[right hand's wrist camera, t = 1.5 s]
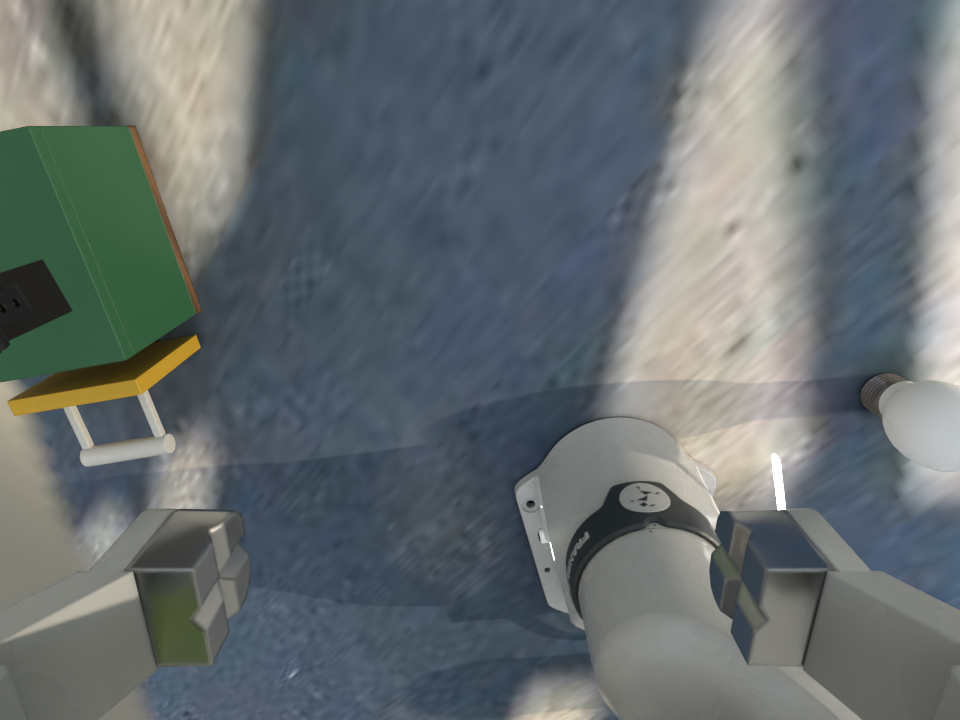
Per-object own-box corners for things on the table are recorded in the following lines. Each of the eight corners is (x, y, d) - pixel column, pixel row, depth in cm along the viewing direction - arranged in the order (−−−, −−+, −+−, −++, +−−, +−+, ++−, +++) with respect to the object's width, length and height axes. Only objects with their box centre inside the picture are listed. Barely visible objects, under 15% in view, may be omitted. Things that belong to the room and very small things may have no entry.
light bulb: (838, 424, 55) (920, 491, 45) (856, 354, 53) (947, 409, 42) (912, 425, 55) (1010, 493, 45) (933, 355, 53) (1042, 411, 42)
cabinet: (201, 311, 51) (126, 360, 41) (81, 332, 52) (-24, 386, 41) (135, 125, 46) (28, 125, 35) (2, 152, 47) (-143, 160, 36)
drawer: (224, 410, 54) (172, 468, 45) (122, 427, 54) (50, 488, 45) (141, 184, 47) (60, 198, 38) (24, 207, 47) (-83, 226, 38)
